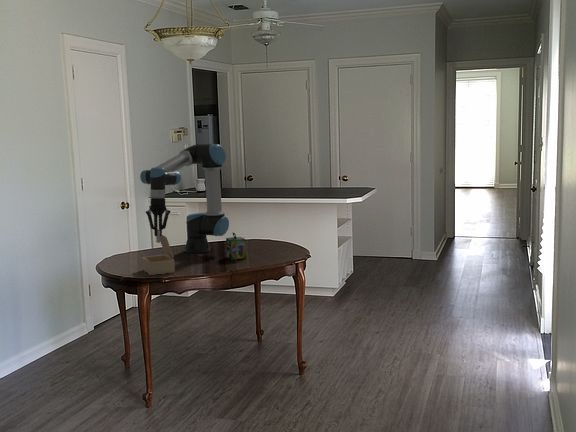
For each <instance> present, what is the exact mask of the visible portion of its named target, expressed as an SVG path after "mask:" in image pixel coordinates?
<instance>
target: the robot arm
mask: <svg viewBox="0 0 576 432" xmlns="http://www.w3.org/2000/svg"><path fill="white" fill-rule="evenodd" d="M226 156H227V155H226V151H225V149H224V148H223V146H222V145H220V144H217V143H216V144H215V143H205V144H204V143H203V144H202V143H196V144H194V145H191V146H188V147H186V148H184V149H183V150H181V151H179V153H178V154H177V155H175V156H174V157H171V158H170V159H167V160H166V161H165V162H163V163H160V164H159V165H157V166H155V167H151V168H150V169H145V170H142V171H141V173H140V176H139V179H140V181H141V183H142V184H144V185H150V207H149V209H148V210H146V211H145V214H146V216H147V218H148V222H149V227H150V229H152V230H153V231H154V233H153V234H154V237H156V239H155V240H156V241H155V243H160V244H161V242H160V236H162V235H163V230H164V229H166V227H167V222H168V219H169V215H170V214H171V210H169V209H167V206H166V186H175V185H178V184H179V183H181V179H182V175H181V173H180V172H179V171H180V170H181V169H182V168H184V167H189V166H191V165H201V168H202V169H203V170H204V178H205V179H204V181H205V193H206V194H205V196H206V197H205V198H206V199H205V200H206V212H196V213H191V214H188V215H186V222H185V224H186V235H187V236H186V242H185V247H184V253H186V254H205V253H208V252H210V251H211V247H210V244H209V241H208V238H207V237H208V236H214V237H222V236H224V235H226V233H227V232H228V230H229V227H230V221H229V219H228V217H226V216H225V211H223V209H222V189H221V188H222V187H221V174H220V173H221V169H222V168H223V165H224V163H225V162H226V160H227V159H226V158H227V157H226ZM164 213H165V214H164ZM152 214H153V217H152ZM163 215H164V218H163Z"/></svg>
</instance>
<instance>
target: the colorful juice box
mask: <svg viewBox="0 0 576 432" xmlns="http://www.w3.org/2000/svg"><path fill="white" fill-rule="evenodd" d="M232 235H233V236H231V237H226V238H225V240H226V241H225V243H226V245H225V246H226V257H227V258H228V259H229V260H231V261H235V260H236V261H237V260H242V259H247V246H246V245H247V243H246V238H245V237H242V236H237V235H236V233H235V232H233V231H232Z"/></svg>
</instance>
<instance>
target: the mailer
mask: <svg viewBox="0 0 576 432" xmlns="http://www.w3.org/2000/svg"><path fill="white" fill-rule="evenodd" d="M141 258H142V259H141V260H142V262H141V263H142V271H143V270H144V271H143V272H145V273H146V272H147V273H148V274H147V273H146V274H147V275H148V276H150V275H154V276H157V275H156V274H162V275H167V274H166V273H169V274H175V273H176V270H175V269H176V266H175V258H174V257H173V258H172V257H170V256H169V255H167V254H158V255H151V256H142V257H141Z"/></svg>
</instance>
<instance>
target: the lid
mask: <svg viewBox="0 0 576 432" xmlns="http://www.w3.org/2000/svg"><path fill="white" fill-rule="evenodd" d="M160 245H161V247H162V251H164V254H165V255H168V256H169V257H171V258H173V259H174V258H175V255H174V254H173V252H172V249H171V245H170V243H169V240H168V238H167V237H166V236H165V235H163V234H162V236H160Z"/></svg>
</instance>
